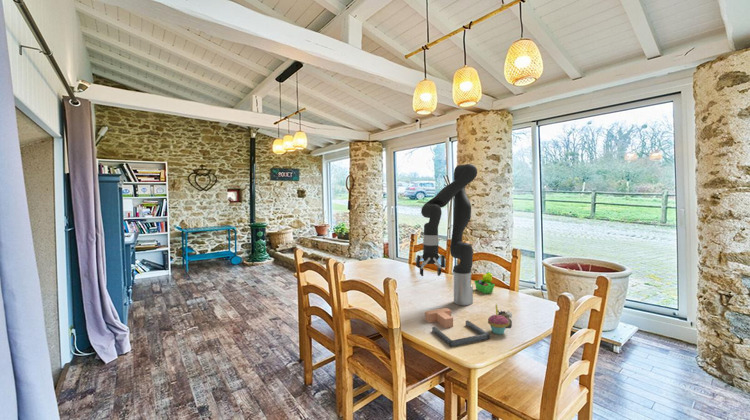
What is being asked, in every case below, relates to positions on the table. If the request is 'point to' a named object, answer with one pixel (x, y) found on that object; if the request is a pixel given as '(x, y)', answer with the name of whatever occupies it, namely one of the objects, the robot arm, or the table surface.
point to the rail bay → (463, 341)
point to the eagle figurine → (506, 316)
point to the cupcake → (498, 323)
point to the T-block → (440, 317)
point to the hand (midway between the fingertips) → (430, 275)
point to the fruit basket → (485, 284)
